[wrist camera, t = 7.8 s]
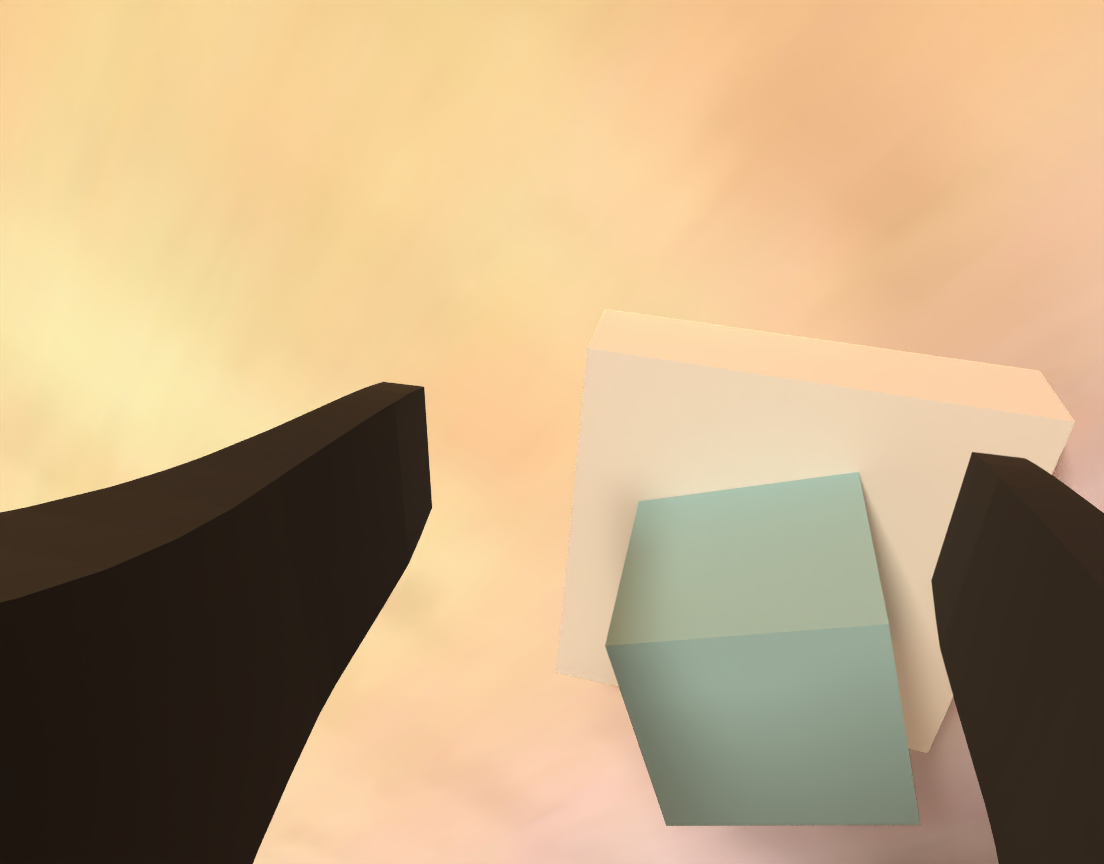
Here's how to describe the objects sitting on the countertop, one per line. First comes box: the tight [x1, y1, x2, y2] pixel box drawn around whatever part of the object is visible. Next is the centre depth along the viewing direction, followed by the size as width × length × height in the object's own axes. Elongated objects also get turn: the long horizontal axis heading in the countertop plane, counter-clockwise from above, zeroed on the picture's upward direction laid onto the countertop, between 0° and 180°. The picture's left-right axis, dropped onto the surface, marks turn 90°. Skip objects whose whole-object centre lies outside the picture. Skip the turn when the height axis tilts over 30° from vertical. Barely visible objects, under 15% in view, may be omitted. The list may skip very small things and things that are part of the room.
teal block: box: [605, 472, 920, 826], centre depth 18 cm, size 5×5×5 cm
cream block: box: [556, 309, 1075, 753], centre depth 21 cm, size 10×10×3 cm
